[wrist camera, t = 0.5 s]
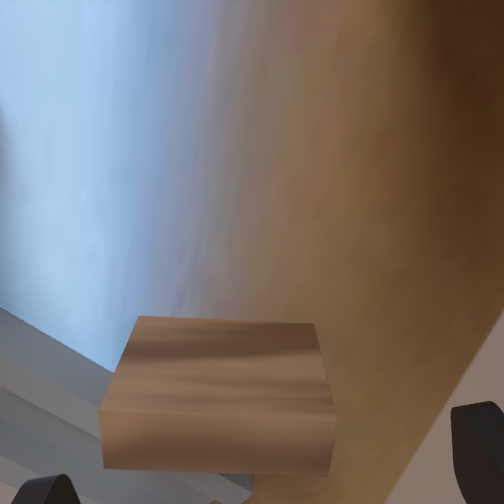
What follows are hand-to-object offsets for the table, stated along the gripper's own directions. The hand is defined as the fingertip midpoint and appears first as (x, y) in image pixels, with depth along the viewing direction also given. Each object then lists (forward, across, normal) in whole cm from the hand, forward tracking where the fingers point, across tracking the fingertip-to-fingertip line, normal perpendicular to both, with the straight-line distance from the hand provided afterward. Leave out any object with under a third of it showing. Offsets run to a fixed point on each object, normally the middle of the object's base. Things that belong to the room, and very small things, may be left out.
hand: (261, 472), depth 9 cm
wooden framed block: (+20, +3, +8) cm, 22 cm away
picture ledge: (+21, +15, +13) cm, 29 cm away
